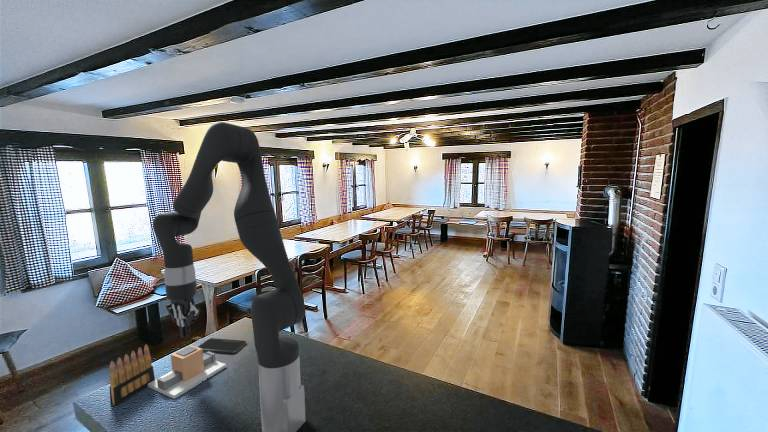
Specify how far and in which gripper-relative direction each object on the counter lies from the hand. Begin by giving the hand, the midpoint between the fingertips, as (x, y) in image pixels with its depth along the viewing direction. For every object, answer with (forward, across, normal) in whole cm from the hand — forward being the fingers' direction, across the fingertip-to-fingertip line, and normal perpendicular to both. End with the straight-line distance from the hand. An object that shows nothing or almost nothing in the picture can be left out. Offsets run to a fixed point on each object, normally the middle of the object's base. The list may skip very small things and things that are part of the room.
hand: (185, 336), depth 94 cm
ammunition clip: (+13, +7, +11) cm, 18 cm away
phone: (+13, +6, -16) cm, 22 cm away
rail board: (+12, 0, 0) cm, 12 cm away
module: (+12, 0, 0) cm, 12 cm away
